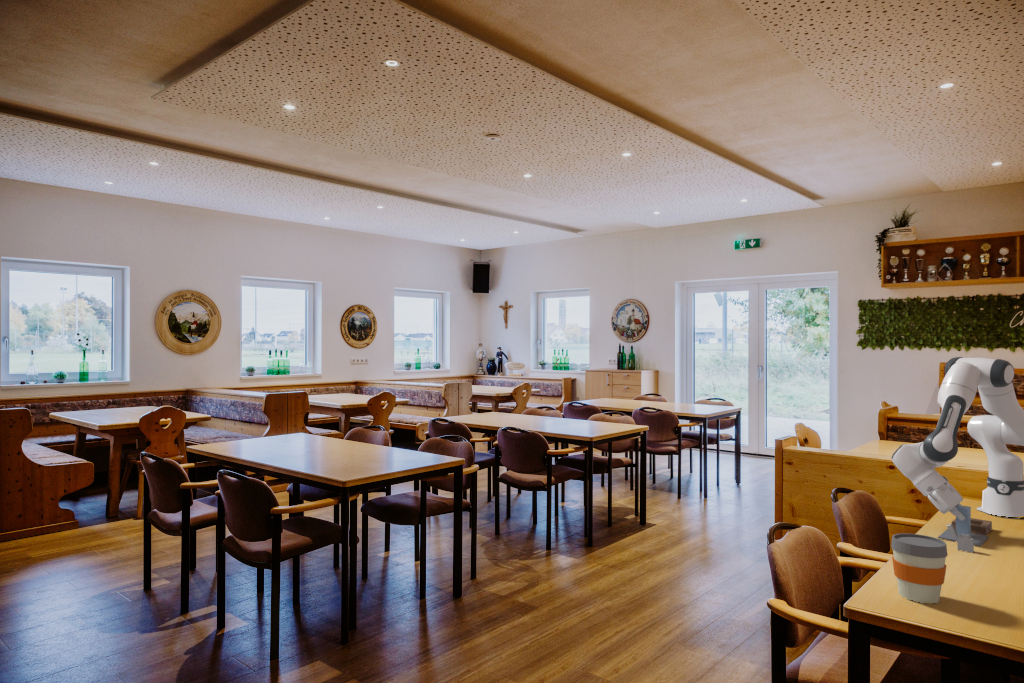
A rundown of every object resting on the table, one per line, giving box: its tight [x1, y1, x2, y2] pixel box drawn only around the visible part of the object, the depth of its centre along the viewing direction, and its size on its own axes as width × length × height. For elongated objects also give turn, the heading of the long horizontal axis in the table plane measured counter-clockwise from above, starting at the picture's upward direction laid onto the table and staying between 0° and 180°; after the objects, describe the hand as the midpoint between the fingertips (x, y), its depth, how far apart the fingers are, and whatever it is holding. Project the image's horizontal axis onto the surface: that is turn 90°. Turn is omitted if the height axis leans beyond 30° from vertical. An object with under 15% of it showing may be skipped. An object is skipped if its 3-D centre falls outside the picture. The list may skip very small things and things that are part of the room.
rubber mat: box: [937, 528, 989, 547], centre depth 220 cm, size 14×12×1 cm
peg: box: [955, 504, 972, 535], centre depth 220 cm, size 4×4×9 cm
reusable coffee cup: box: [890, 533, 948, 605], centre depth 167 cm, size 13×13×15 cm
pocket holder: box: [951, 517, 993, 536], centre depth 231 cm, size 12×10×3 cm
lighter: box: [946, 523, 975, 554], centre depth 207 cm, size 7×2×8 cm, turn 45°
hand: (965, 518), depth 220 cm, fingers closed on peg, 4 cm apart
